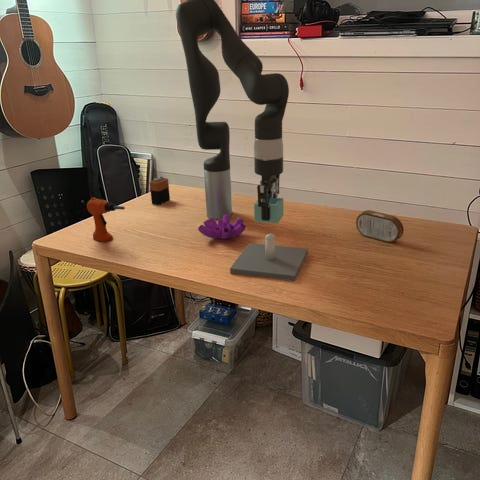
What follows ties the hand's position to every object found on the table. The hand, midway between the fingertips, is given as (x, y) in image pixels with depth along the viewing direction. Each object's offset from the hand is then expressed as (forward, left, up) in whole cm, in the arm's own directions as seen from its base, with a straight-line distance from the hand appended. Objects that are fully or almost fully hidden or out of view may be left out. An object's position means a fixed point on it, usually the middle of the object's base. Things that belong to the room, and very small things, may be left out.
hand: (269, 215), depth 132 cm
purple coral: (-15, -19, -15) cm, 28 cm away
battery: (-43, -56, -15) cm, 72 cm away
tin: (-25, +28, -15) cm, 41 cm away
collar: (0, 0, -1) cm, 1 cm away
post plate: (0, 0, -14) cm, 14 cm away
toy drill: (-3, -54, -15) cm, 56 cm away
